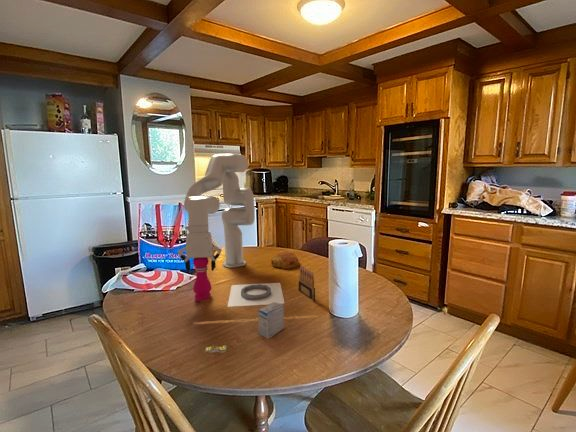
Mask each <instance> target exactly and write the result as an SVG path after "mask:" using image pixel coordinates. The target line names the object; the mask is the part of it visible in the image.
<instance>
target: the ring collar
mask: <svg viewBox="0 0 576 432" xmlns="http://www.w3.org/2000/svg"><path fill="white" fill-rule="evenodd" d="M257 284H258V285H250V286H246V287H244V288H243V289H241V296H242V297H243V298H245V299H249V300H261V299H264V298H267V297H269V296H270V295H271V288H270V287H268V286H267V285H260V284H261V283H257ZM252 289H262V290H266V291H267V292H266V293H264V294H260V295H250V294H246V293H245V292H247V291H249V290H252Z"/></svg>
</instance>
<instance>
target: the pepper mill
mask: <svg viewBox="0 0 576 432" xmlns="http://www.w3.org/2000/svg"><path fill="white" fill-rule="evenodd" d="M192 263H193V265H194V271H195V274H196V275H195V281H194V283H193V286H192V288H193V289H192V290H193V292H194V299H195V301H196V302H201V301H203V300H207V299H209V298H210V297H211V290H212V284H211V281H210V280H209V278H208V274H207V271H208V270H209V269H208V264H209V257H207V258H193V261H192Z"/></svg>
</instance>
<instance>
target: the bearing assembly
mask: <svg viewBox="0 0 576 432" xmlns="http://www.w3.org/2000/svg"><path fill="white" fill-rule="evenodd" d="M204 351H205V353H209V354H210V353H213V354H214V353H215V352H217V353H222V354H224V353H225V352H226V351H228V345H227V344H223V345H222V346H219V344H216V345H210V346H206V347H205V349H204Z"/></svg>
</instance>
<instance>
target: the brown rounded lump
mask: <svg viewBox="0 0 576 432" xmlns="http://www.w3.org/2000/svg"><path fill="white" fill-rule="evenodd" d="M270 263H271V265H272V266H273V267H275V268H277V269H282V270H285V269H294V268H296V267H297V266H299V265H300V264H299V263H300V261H299V258H298V256H296V254H294V252H291V251H282V252H278V253H276V254H274V255H273V257H272V258H271V262H270Z"/></svg>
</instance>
